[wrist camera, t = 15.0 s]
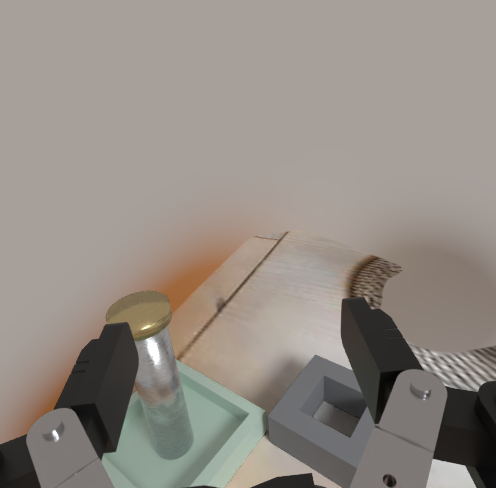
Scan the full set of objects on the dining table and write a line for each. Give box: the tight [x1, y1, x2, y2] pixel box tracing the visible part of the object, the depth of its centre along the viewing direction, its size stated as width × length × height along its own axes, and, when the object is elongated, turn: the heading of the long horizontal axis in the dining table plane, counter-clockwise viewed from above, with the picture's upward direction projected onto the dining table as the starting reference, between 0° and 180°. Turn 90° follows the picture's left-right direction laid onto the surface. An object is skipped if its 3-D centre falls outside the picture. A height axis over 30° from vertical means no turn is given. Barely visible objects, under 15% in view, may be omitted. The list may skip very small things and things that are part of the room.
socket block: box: [268, 355, 379, 488], centre depth 38 cm, size 10×10×4 cm
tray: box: [101, 360, 267, 488], centre depth 38 cm, size 14×14×3 cm
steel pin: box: [106, 291, 194, 460], centre depth 35 cm, size 5×5×17 cm
